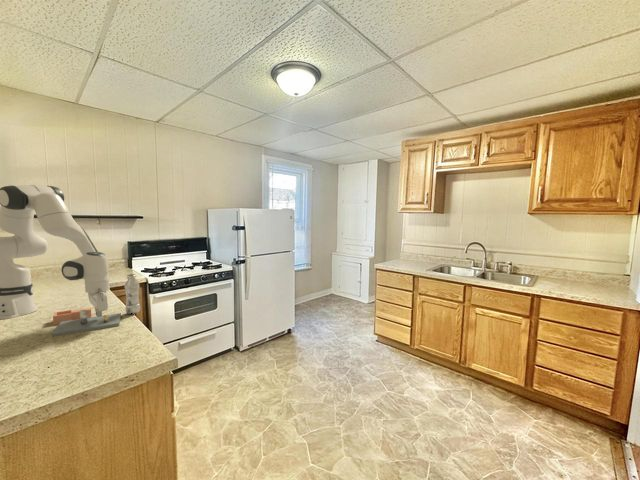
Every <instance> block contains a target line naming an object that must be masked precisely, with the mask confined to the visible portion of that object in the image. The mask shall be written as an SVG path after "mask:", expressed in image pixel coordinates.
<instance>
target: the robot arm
mask: <svg viewBox="0 0 640 480" xmlns="http://www.w3.org/2000/svg"><path fill="white" fill-rule="evenodd" d="M35 214H36V217H37V219H38V222H39V224H40V226H41V227H42V229H43V230H44V231H45V232H46V233H47V234H49V235H51V236H54V237H58V238H63V239H65V240H69V241H70V242H73V243H74V244H75V246H76V247H77V248H78V250H79V252H80V253H81V256H79V257H77V258H74V259H73V258H72V259H71V260H67V261H65V262H64V263H62V266H61V274H62V276H63V278H65V279H66V280H68V281H79V280H84V292H85V293H87V294H88V295H87V296H88V301H89V303H90V304H91V305H92V306H93V307H94V310H95V317H100V316H103V312H104V311H108V309H109V304H108V295H107V291H109V290H110V289H111V287H110V277H109V272H110V271H109V270H110V269H109V268H110V267H109V259H108V257H107V254H105V253H104V252H101V251H98V249H97V248H96V246H95V244H94V243H93V242H92V239H91V238H90V236H89V235H88V233H87V232H86V231H85V229H84V228H83V227H82V226H80V225H79V224H78V223H77V222H76V221H75V220H74V218H73V216H72V214H71V211H70V210H69V208H68V206H67V204H66V203H65V194H64V193H63V191H62V190H61V189H60V188H59V187H57V186H52V185H40V184H39V185H37V184H30V185H25V184H24V185H6V186H2V187H0V229H1V230H2V231H4V232H6V233H8V234H12V235H13V236H11V235H10V236H0V320H7V319H9V320H10V319H14V318H17V317H21V316H24V315H28V314H31V313H35V312H36V311H38V307H37V305H36V302H35V299H34V285H33V283H32V276H31V274H32V273H31V269H30V268H29V267H27V266H25V265H22V264H19V263H18V264H17V263H14V259H18V258H19V259H21V258H30V257H31V258H32V257H38V256H41V255H44V254H45V253H46V252H47V251H48V249H49V244H48V241H47V239H45V238H44V237H42V236H41V235H39V234H38V233H37V232H35V229H34V218H35V217H34V216H35Z"/></svg>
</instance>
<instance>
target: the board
mask: <svg viewBox="0 0 640 480" xmlns="http://www.w3.org/2000/svg"><path fill="white" fill-rule="evenodd" d="M107 315H108V322H106V323H104V316H105V315H102V316H100V317H97V316H91V317H90V318H87V324H84V325H81V324H80V319H76V320H69V321H62V322H60V324H57V327H56V328H55V330H53V332H52V337H58V336H65V335H70V334H77V333H82V332H83V333H84V332H89V331H95V330H101V329H102V330H103V329H107V328H108V329H109V328H114V327H119V326H120V323H121V318H122V314H121V313H120V312H119V313H113V314H107Z"/></svg>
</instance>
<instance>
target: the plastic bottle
mask: <svg viewBox="0 0 640 480" xmlns="http://www.w3.org/2000/svg"><path fill="white" fill-rule="evenodd" d="M126 280H127V281H126V282H125V284H124V290H125V302H126V303H125V309H124V310H125V313H126V314H127V315H133V314H137V313H139V312H140V311H141V304H140V299H139V291H140V283H139V281H138V280H137V274H133V273H131V274H128V275H127V277H126ZM131 313H132V314H131Z"/></svg>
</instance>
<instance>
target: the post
mask: <svg viewBox="0 0 640 480" xmlns="http://www.w3.org/2000/svg"><path fill="white" fill-rule="evenodd" d="M108 315H109V314H106V315H105V316H104V315H103V316H104V323H106V322H108ZM80 324H81V325H84V324H87V310H81V311H80Z"/></svg>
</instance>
